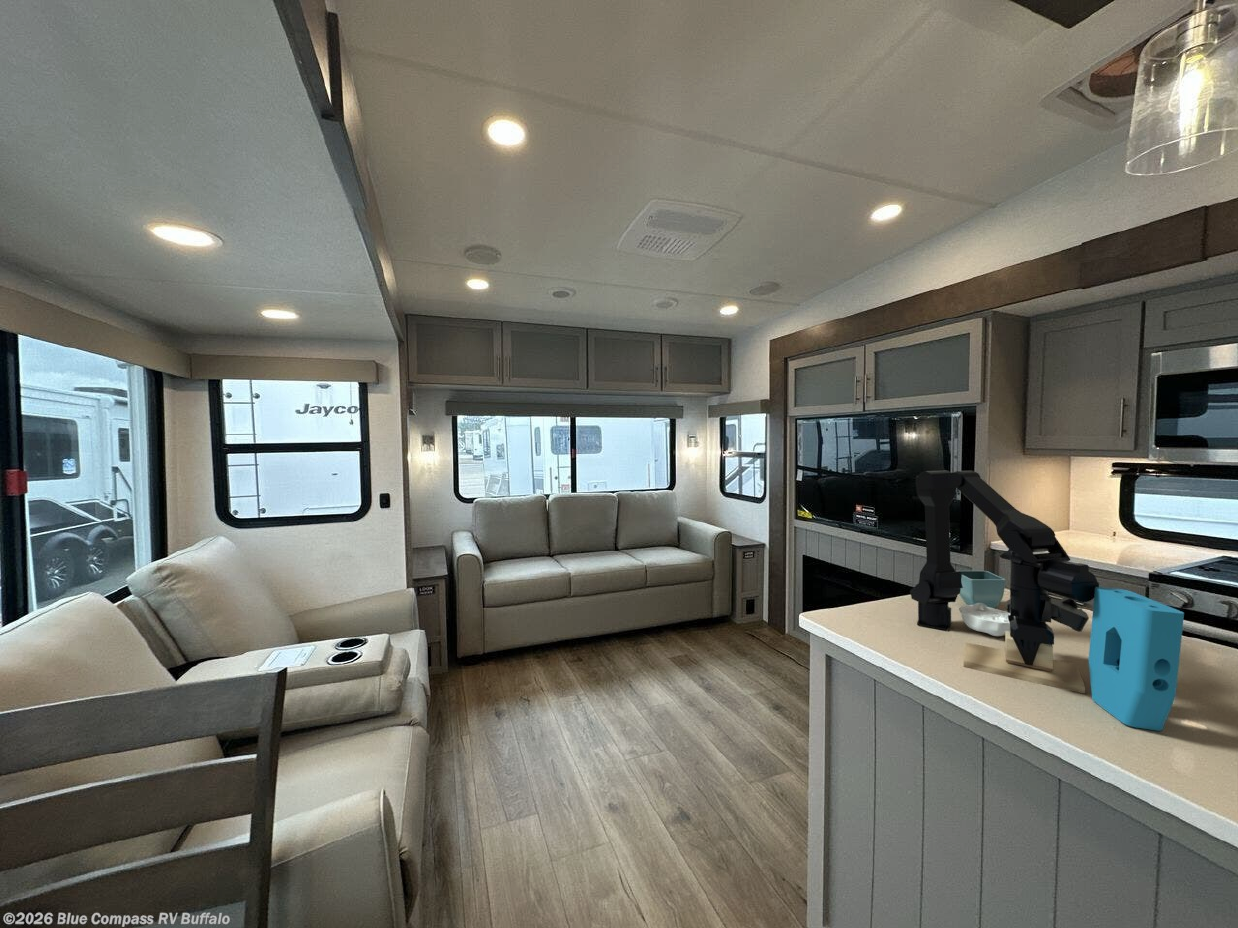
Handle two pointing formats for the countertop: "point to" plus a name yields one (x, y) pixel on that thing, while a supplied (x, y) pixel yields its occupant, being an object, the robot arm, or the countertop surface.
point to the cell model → (985, 619)
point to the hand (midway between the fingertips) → (1027, 659)
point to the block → (1134, 657)
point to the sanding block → (1041, 660)
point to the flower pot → (982, 588)
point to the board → (1023, 668)
